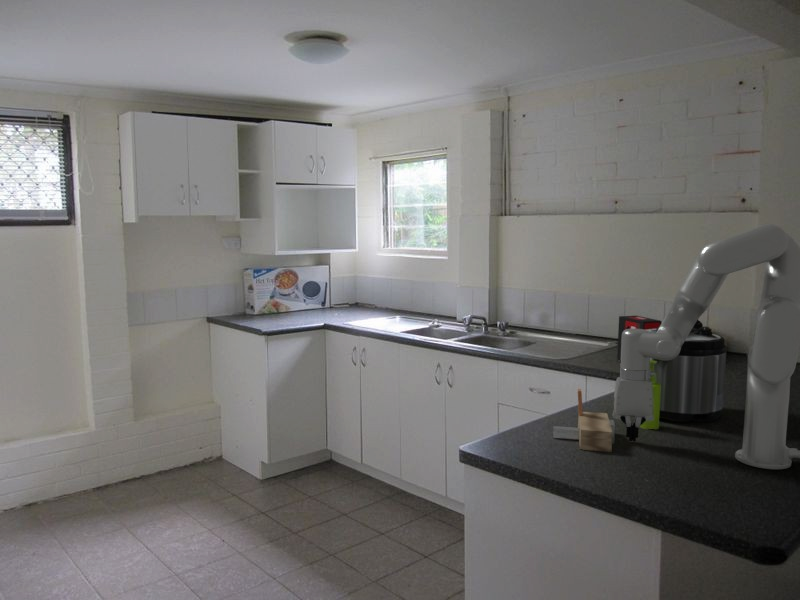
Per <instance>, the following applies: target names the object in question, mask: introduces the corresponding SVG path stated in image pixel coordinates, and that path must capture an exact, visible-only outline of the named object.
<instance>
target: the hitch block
mask: <svg viewBox="0 0 800 600" xmlns="http://www.w3.org/2000/svg"><path fill="white" fill-rule="evenodd" d="M577 416H578V417H577V420H578V421H577V428H580V433H579V440H578V441H579V449H582V451H583V450H585V451H593V450H594V451H595V452H596V451H597V452H606V453H607V452H608V453H612V449H613V448H612V446H613V444H612V429H611V425H610V422H609V420H610V419H609V416H608V413H606V412H595V411H593V412H592V411H583V415H579V413H578V415H577Z"/></svg>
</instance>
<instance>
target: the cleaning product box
mask: <svg viewBox="0 0 800 600" xmlns="http://www.w3.org/2000/svg"><path fill="white" fill-rule="evenodd" d="M662 322H663V320H658V319H655V318H651V317H650V318H649V317H645V316H642V315H641V316H640V315H622V316H621V315H620V316H618V331H617V332H618V333H617V355H616V357H617V358H616V360H617V359H618V360H621V339H622V332H623V331H624V330H626V329H644V330H648V329H657V328H658V327H659V326H660V325H661V324H662Z"/></svg>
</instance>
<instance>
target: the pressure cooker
mask: <svg viewBox="0 0 800 600" xmlns="http://www.w3.org/2000/svg"><path fill="white" fill-rule="evenodd" d="M659 327H660V326H659ZM659 327H658V328H657V329H648V330H647V331H649V332H650V333H656V332H657V330H658V329H659ZM650 360H653V361H657V364H654V371H655V372H657V383H660V384H661V395H660V414H659V419H664V420H669V421H674V422H681V423H689V422H692V421H694V422H695V421H696V422H711V421H715V420H717V419H718V418H720V417H721V413H722V411H723V409H724V399H725V398H724V397H725V396H724V395H725V379H726V362H727V346H726V345H725V337H724V336H723V335H719V334H714V333H713V331H712V328H710V327H709V326H704V325H703V322H701V321H700V320H699V319H698V320H697V322H696V323H695V325H694V326H693V328H692V330H691V331H690V333H689V335H688V336H687V338H686V340H685V341H684V343H683V345H682V347H681V350H680V353H679V354H678V356H677V357H676V358H674V359H672V360H668V361H664V360H658V359H654V358H650Z"/></svg>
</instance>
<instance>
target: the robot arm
mask: <svg viewBox="0 0 800 600" xmlns="http://www.w3.org/2000/svg"><path fill="white" fill-rule="evenodd" d="M761 264H763V265H764V276H763V282H762V289H761V290H762V291H761V295H760V301H759V305H758V308H757V311H756V320H757V321H756V326H755V327H756V328H755V333H754V337H753V338H754V339H753V344H752V345H751V347H750V348H749V351H748V354H747V365H746V366H747V368H746V369H747V373H746V375H747V376H746V393H745V405H744V416H743V417H744V421H743V436H742V447H741V449H738V450H737V451H735V453H734V457H735V459H736V460H737V461H739V462H741V463H743V464H744V465H747V466H751V467H755V468H759V469H766V470H785V469H788V468H790V467H792V459H794V458H795V459H800V450H798V448H794V447H791V448H790V447H788V446H787V445H786V442H787V433H788V432H787V430H788V417H789V404H790V393H791V392H790V391H791V389H790V388H791V377H792V375H793V374H794V372H795V369H796V367H797V366H796V365H797V362H798V358H799V357H798V356H799V352H800V246H799V245H798V243H797V241H796V240H795V239H794V238H792V236H791V235H789V234H788V233H787V232H785V230H784V229H783V228H782V227H780V226H778V225H775V224H770V223H765V224H760V225H757V226H756V227H754V228H751V229H749V230H746V231H743V232H740V233H738V234H735V235H732V236H728V237H726V238H722V239H719V240H713V241H710V242H708V243H707V244H705V245H704V246H703V247H702V249H700V251H699V253H698V255H697V257H696V258H695V260H694V262H693V264H692V265H691V267H690V269H689V271H688V272H687V275H685V278H684V279H683V281H682V283H681V284H680V286H679V287H678V289H677V292H676V294H675V296H674V298H673V302H672V304H671V306H670V308H669V309H668V311H667V313H666V315H665V317H664V318H663V320H662V324H661V325H660V327H659V329H658V330H657V332H656V333H650V332H649V331H647V330H644V329H626V330H624V331H623V332H622V339H621V363H620V364H619V365H620V368H619V369H620V370H619V371H620V372H619V376H618V377H617V378H616V381H615V386H614V391H613V405H612V407H613V411H612V415H611V416H612V418H613V419H616V420H621V422H622V423H623V424H625V426H626V428H625V429H626V430H625V437H626V438H628V441H629V442H632V441H633V442H636V441H637V438H639V428H640V425H641V424H643V423H644V422H645V421H651V420H654V417H653V409H654V403H653V386H652V380H651V379H650V377H651V376H655V371H651V370H650V358H654V359H658V360H664V361H668V360H672V359H674V358H676V357H677V356H678V354H679V353H680V350H681V347H682V345H683V343H684V341H685V340H686V338H687V336H688V335H689V333H690V331H691V330H692V328H693V326H694V325H695V323H696V322H697V320H699V318H700V317H701V316H702V315H703V314H704V313H705V312H706V311H707V310H708V309H709V307H710V306H711V304H712V302H713V301H714V299H715V297H716V296H717V294H718V292H719V290H720V289H721V287H722V285H723V284H724V282H725V281H726V279H727V277H728V276H729V274H732V273H735V272H739V271H742V270H745V269H748V268H751V267H754V266H757V265H761ZM631 417H635V418H634V421H633V422H631Z"/></svg>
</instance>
